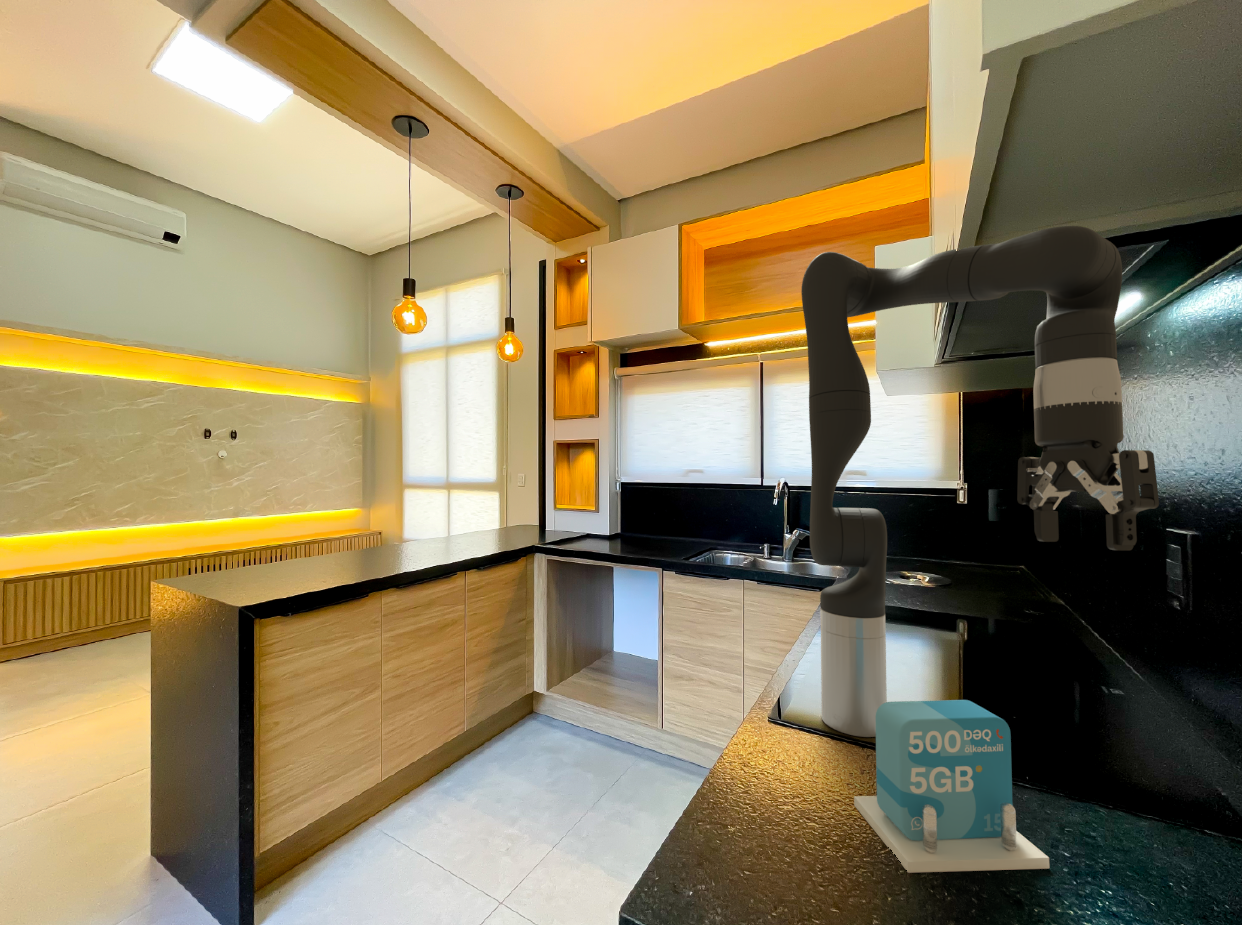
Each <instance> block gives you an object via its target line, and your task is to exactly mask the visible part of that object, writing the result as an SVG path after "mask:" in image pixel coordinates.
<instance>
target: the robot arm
mask: <svg viewBox="0 0 1242 925" xmlns="http://www.w3.org/2000/svg"><path fill="white" fill-rule="evenodd" d="M962 248H963V249H961V250H959V251H956V249H957V248H955V249H949V250H946V251H942V252H939V253H935V254H932V255H929V256H928V257H926V258H924V259H922V260H919V261H918V262H915V263H913V264H910V265H906V266H901V267H896V268H878V267H877V268H876V267H868V266H866V265H865V264H863V263H862V262H860V261H858V260H856V259H854V258H851V257H850V256H848V255H845V254H842V253H840V252H839V253H838V252H834V251H825V252H822V253H820V254H818V255H817V256H815V257H814V258H813V259H812V260H811V261H810V263H809V264H808V266H807V268H806V270H805V271H804V274H803V276H802V281H801V289H800V290H801V303H802V305H801V306H802V310H803V318H804V325H805V333H806V341H807V343H806V344H807V364H808V365H807V366H808V384H809V385H808V388H809V389H808V415H809V416H808V418H809V432H810V433H809V436H810V452H811V457H810V458H811V480H810V481H811V483H810V484H811V486H810V489H811V490H810V512H809V515H810V516H809V548H810V552H811V553H810V554H811V557H812V558H813V561H814V562H815V563H816V564H817V565H819V566H826V567H828V566H829V567H842V568H844V567H846V568H848V567H849V568H859V569H858V572H857V573H856V574H855V575H854V576H853V577H851V578H849V579H847V580H845V581H843V582H840V583H838V584H833V585H830V586H827V587H825V588H823V589H822V590H821V591H820V594H819V596H820V598H819V602H820V603H819V605H820V610H819V611H820V613H819V614H820V673H821V674H820V678H821V679H820V680H821V681H820V683H821V692H820V694H821V698H820V700H821V704H820V705H821V706H820V707H821V719H822V721H823V722H824V724H826V725H827V726H828V727H830V728H831V729H833V730H835V731H837V732H840V733H842V734H843V733H844V734H846V735H851V736H855V737H863V738H871V737H872V738H873V737H875V738H876V712H877V709H878V708H879V707H880V706H881V705H882V704H883V703H886V702H888V700H887V699H888V696H887V695H888V694H887V690H888V689H887V687H888V686H887V644H886V643H887V638H886V637H887V636H886V633H887V632H886V594H887V593H886V589H887V588H886V586H887V585H886V584H887V583H886V582H887V580H886V579H887V578H886V577H887V574H886V573H887V556H888V555H887V552H888V530H887V523H886V519H885V518H884V515H883V514H882V512H881V511H880V510H878V509H876V508H872V507H871V508H869V507H867V508H866V507H862V508H861V507H833V501H834V494H835V492H836V491H835V490H836V488H837V484H838V482H839V480H840V478H841V476H842V475H843V472H844V470H845V468H846V467H847V465H848V464H849V462H850V461H851V460H852V458H853V457H854V455H855V454H856V452H857V450H858V449H859V448H860V446H861V444H862V443H863V441H864V440H865V439H866V437H867V435H868V433H869V431H870V429H871V428H870V427H871V425H872V424H871V423H872V409H871V408H872V405H871V389H870V382H869V380H868V377H867V373H866V371H865V367H864V365H863V363H862V360H861V358H860V357H859V355H858V352H857V350H856V348H855V345H854V343H853V341H852V337H851V334H850V329H849V322H848V318H853V317H857V316H862V315H868V314H870V313H871V314H872V313H875V312H879V311H885V310H888V309H890V310H891V309H895V308H899V307H900V308H901V307H907V306H917V305H928V304H943V303H944V304H945V303H963V302H965V303H966V302H979V301H991V300H996V299H1000V298H1002V297H1005V296H1007V295H1008V294H1009V293H1013V292H1014V293H1015V292H1024V291H1036V292H1037V291H1042V292H1044V293H1046V297H1047V298H1046V299H1047V301H1046V302H1047V305H1046V317H1045V318H1046V319H1044V320H1041V322H1040V323H1039V324H1038V325H1037V326H1036V330H1035V334H1034V358H1035V359H1034V364H1035V373H1034V374H1035V375H1034V381H1033V392H1032V393H1033V421H1034V427H1033V428H1034V442H1035V445H1037V446H1038V447H1041V449H1042V450H1041V451H1042V452H1041V457H1034V456H1027V457H1025V456H1023V457H1019V459H1018V461H1017V494H1016V495H1017V497H1016V498H1017V500H1016V501H1017V503H1018V504H1020V505H1026V506H1028V507H1029V508H1030V509H1032V510H1033V525H1034V526H1033V527H1034V531H1033V532H1034V534H1035V536H1036V540H1037V541H1039V542H1043V543H1044V542H1046V543H1050V542H1051V543H1055V542H1058V541H1059V539H1060V538H1059V537H1060V536H1059V535H1060V534H1059V532H1060V531H1059V512H1058V510H1056V508H1057V507H1058V506H1059V504H1060V503H1061V501H1062V500H1063V499H1064V498H1066V497H1068V496H1070V494H1071V493H1072V492H1076V493H1079V492H1082V493H1084V492H1085V493H1086V492H1087V493H1088V494H1089V495H1090V496H1091V497H1092V498H1095V499H1097V500H1098V501H1099V503H1100V504H1101V505H1102V506H1103V507H1104V509H1105V510H1106V511H1107V512H1108V513H1109V514H1105V532H1106V533H1105V534H1106V535H1105V536H1106V547H1107V549H1109V550H1112V551H1132V550H1133V548H1134V546H1136V544H1137V541H1138V536H1137V514H1139V512H1142V511H1146V510H1149V509H1150V510H1151V509H1152V510H1153V509H1157V508H1158V507H1159V505H1160V499H1159V489H1158V481H1157V471H1156V464H1155V463H1156V461H1155V455H1154V453H1153V451H1151V450H1147V449H1146V450H1145V449H1143V450H1142V449H1141V450H1140V449H1137V450H1135V449H1131V450H1130V449H1124V450H1122V451H1120V450H1119V448H1118V444H1119V443H1121V442H1122V441H1124V417H1123V394H1122V389H1123V388H1122V376H1121V374H1120V370H1119V365H1118V360H1117V359H1118V348H1117V344H1118V343H1117V331H1116V330H1117V329H1116V325H1115V320H1116V319H1115V318H1116V314H1117V311H1118V307H1119V302H1120V297H1121V296H1120V295H1121V289H1122V282H1123V264H1122V258H1121V254H1120V252H1119V249H1118V248H1117V246H1116V245H1115V244H1114V243H1112V242H1111V241H1109V240H1108V239H1107V238H1105V237H1103V236H1102V235H1100V234H1099V233H1098V232H1096V231H1095V230H1093V229H1091V228H1089V227H1085V226H1081V225H1080V226H1079V225H1063V226H1062V225H1061V226H1053V227H1049V228H1044V229H1040V230H1036V231H1033V232H1029V233H1027V234H1022V235H1019V236H1016V237H1013V238H1009V239H1008V240H1005V241H1002V242H1000V243H999V242H998V243H988V244H981V245H975V246H968V248H967V247H962ZM1118 470H1119V471H1120V476H1119V474H1118V473H1117V472H1118ZM1030 486H1031V494H1030Z"/></svg>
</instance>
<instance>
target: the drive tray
mask: <svg viewBox="0 0 1242 925" xmlns="http://www.w3.org/2000/svg"><path fill="white" fill-rule="evenodd" d="M853 800H854V801H853V806H854V807H855V808H856V810H857V811H858V812H859V813H860V814H861V816H862V817H863V819H865V821H866V822H867V823H868V825H869V826H870V828H872V830H873V831H874V832H875V833H876V834H877V835H878V837H879V838H880V839H881V841H882V842H883V843H884V845H885V846H886V847H887V848H888V847H889V848H888V849H889V850H890V849H891V850H892V852H893V853H892V852H891V853H892V854H893V855H894V854H895V855H896V857H897V858H898V859H897V858H896V857H895V858H896V859H897V861H898V860H899V861H900V862H901V863H900V862H899V861H898V862H899V863H900V864H901V866H902V867H903V868H904V870H907V871H906V872H907V873H911V874H912V873H933V872H934V873H938V872H939V873H943V872H947V873H948V872H973V871H974V872H975V871H976V872H977V871H978V872H979V871H980V872H981V871H1002V870H1003V871H1004V870H1006V871H1007V870H1008V871H1009V870H1011V871H1013V870H1040V869H1041V870H1043V869H1044V870H1047V869H1050V857H1049V856H1048V855H1046V854H1045V853H1044V852H1043V851H1042V850H1040V848H1038V847H1037V846H1036V845H1034V844H1033V843H1032V842H1031V841H1030V840H1028V839H1027V838H1026V837H1025V836H1023V834H1021V833H1020V832H1018V831H1017V830H1016V845H1017V846H1016V849H1015V850H1014V851H1009V850H1007V849H1006V848H1004V846H1003V845H1002V843H1001V837H988V838H966V839H943V840H937V851H936V852H935V853H930V852H928V851H927V850H926V849H925V848H924V846H923V840H921V841H915V840H911V839H909V838H907V837H906V836H905V835H904V834H903V833H902V832H901V831H900V830H899V828H898V827H897V826H896V825H895V824H894V823H893V822H892V821H891V820H890V819H889V817H888V816H887V815H886V814H885V813H884V812H883V811H882V810H881V809H880V807H879V805H878V803H877V795H861V796H859V795H856V796H855V795H854V796H853Z"/></svg>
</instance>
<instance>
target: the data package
mask: <svg viewBox="0 0 1242 925" xmlns="http://www.w3.org/2000/svg"><path fill="white" fill-rule="evenodd" d="M1011 739H1012V736H1011V729H1010V727H1009V724H1008V722H1006V720H1005V719H1004V718H1001V717H999V716H998V715H996V714H994V713H992V712H990V711H989V710H987V709H986V708H984V707H982V706H980V705H978V704H977V703H975V702H973V701H971V700H968V699H951V700H950V699H947V700H910V701H909V700H908V701H907V700H905V701H902V700H901V701H887V702H886V703H883V704H882V705H881V706H880V707H879V708H878V709H877V712H876V736H875V758H876V760H875V761H876V762H875V763H876V766H875V767H876V768H875V769H876V771H875V772H876V773H875V774H876V775H875V776H876V796H877V803H878V805H879V807H880V809H881V810H882V811H883V812H884V813H885V814H886V815H887V816H888V817H889V819H890V820H891V821H892V822H893V823H894V824H895V825H896V826H897V827H898V828H899V830H900V831H901V832H902V833H903V834H904V835H905V836H906V837H907V838H909V839H911V840H915V841H921V840H923V823H922V808H923V806H924V805H926V804H929V805H931V806H933V807H934V808H935V810H936V813H937V840H943V839H966V838H988V837H1001V817H1000V806H1001V804H1002V803H1004V802H1006V803H1009V804H1011V805H1012V806H1013V807H1014V804H1013V778H1012V776H1013V775H1012V774H1013V773H1012V771H1013V770H1012V742H1011V741H1012V740H1011Z"/></svg>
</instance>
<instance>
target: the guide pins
mask: <svg viewBox="0 0 1242 925" xmlns="http://www.w3.org/2000/svg"><path fill="white" fill-rule="evenodd" d="M1016 814H1017V813H1016V808H1015V807H1014V805H1013V806H1012V805H1011V804H1009V803H1006V802H1004V803H1002V804H1001V806H1000V817H1001V843H1002V845H1003V846H1004V848H1006V849H1007V850H1009V851H1014V850H1015V849H1016V846H1017V845H1016V831H1017V820H1016V819H1017V818H1016V817H1017V815H1016ZM922 823H923V846H924V848H925V849H926V850H927V851H928V852H930V853H935V852H936V851H937V813H936V810H935V808H934V807H933V806H931V805H929V804H926V805H924V806H923V808H922Z"/></svg>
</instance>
